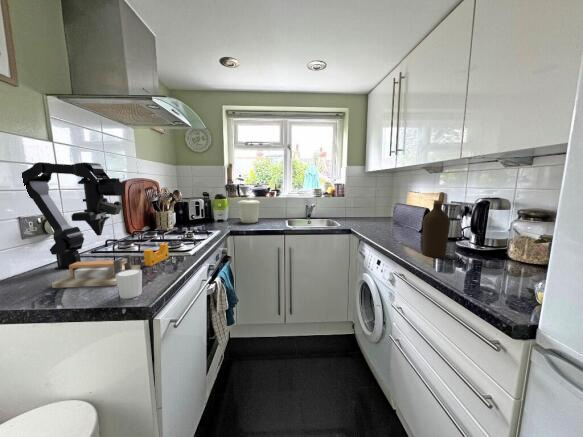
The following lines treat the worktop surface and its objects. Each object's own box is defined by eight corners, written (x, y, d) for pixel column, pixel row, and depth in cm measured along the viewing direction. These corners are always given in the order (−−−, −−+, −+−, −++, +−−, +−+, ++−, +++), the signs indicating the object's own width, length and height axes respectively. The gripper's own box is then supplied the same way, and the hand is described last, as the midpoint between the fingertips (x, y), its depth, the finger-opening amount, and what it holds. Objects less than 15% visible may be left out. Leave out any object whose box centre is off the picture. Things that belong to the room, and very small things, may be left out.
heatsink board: (52, 287, 84) (49, 267, 82) (85, 270, 99) (83, 253, 98) (117, 284, 86) (115, 264, 85) (140, 268, 101) (138, 251, 100)
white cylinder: (125, 290, 82) (123, 269, 81) (147, 289, 82) (145, 268, 81) (112, 300, 75) (109, 277, 74) (137, 299, 76) (134, 276, 74)
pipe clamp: (160, 257, 117) (158, 243, 116) (168, 257, 116) (167, 243, 115) (141, 265, 105) (139, 250, 104) (150, 266, 104) (149, 250, 103)
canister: (236, 221, 213) (235, 196, 210) (258, 220, 219) (257, 195, 215) (239, 225, 196) (238, 197, 193) (262, 223, 202) (262, 196, 198)
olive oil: (441, 260, 110) (446, 202, 106) (416, 254, 118) (420, 200, 114) (450, 255, 117) (455, 200, 113) (426, 250, 125) (430, 199, 121)
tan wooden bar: (69, 275, 89) (67, 264, 88) (79, 270, 94) (78, 259, 93) (121, 273, 90) (120, 262, 90) (129, 268, 96) (127, 257, 95)
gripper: (101, 197, 91) (106, 240, 93) (129, 194, 109) (132, 230, 111) (67, 197, 90) (73, 241, 92) (101, 194, 108) (105, 230, 110)
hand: (99, 235), depth 101 cm, fingers closed
